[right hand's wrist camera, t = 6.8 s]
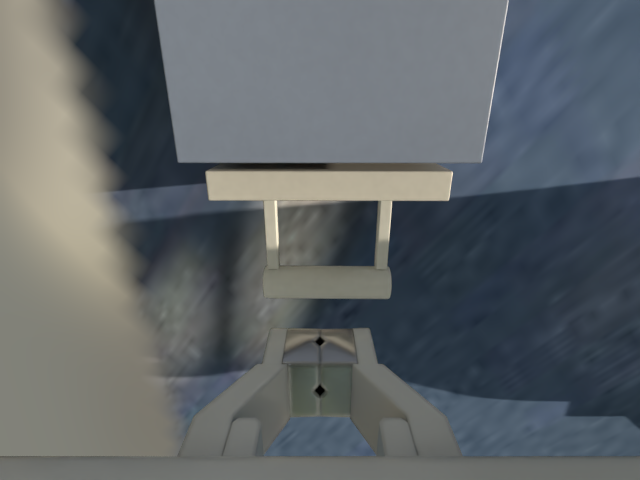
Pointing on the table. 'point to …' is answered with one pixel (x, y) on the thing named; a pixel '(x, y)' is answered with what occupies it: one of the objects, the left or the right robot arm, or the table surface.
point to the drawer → (328, 186)
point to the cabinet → (330, 79)
